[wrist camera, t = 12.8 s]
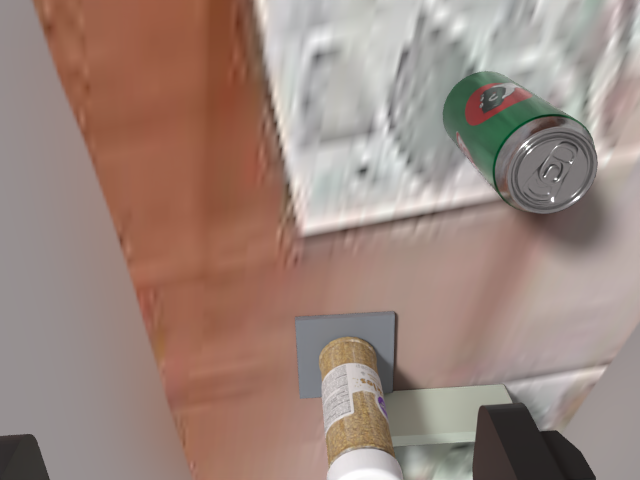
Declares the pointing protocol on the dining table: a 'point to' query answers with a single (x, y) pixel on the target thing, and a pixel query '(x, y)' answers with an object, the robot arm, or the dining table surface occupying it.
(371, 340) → the coaster
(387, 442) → the sprinkles bottle
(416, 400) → the crate
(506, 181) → the soda can
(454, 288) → the dining table surface
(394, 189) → the dining table surface
